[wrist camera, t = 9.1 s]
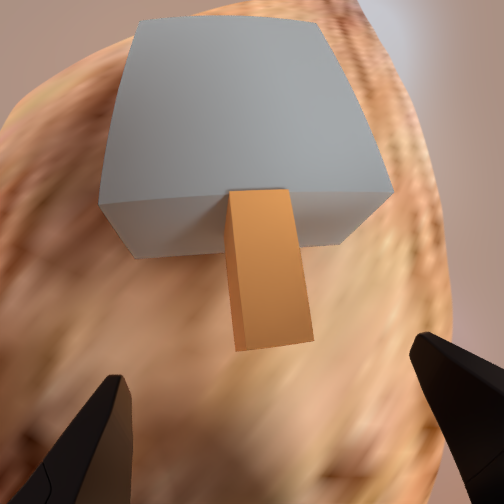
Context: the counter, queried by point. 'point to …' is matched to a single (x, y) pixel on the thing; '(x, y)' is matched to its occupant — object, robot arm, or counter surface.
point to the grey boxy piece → (240, 159)
